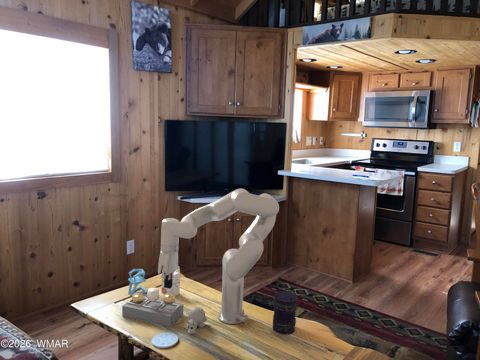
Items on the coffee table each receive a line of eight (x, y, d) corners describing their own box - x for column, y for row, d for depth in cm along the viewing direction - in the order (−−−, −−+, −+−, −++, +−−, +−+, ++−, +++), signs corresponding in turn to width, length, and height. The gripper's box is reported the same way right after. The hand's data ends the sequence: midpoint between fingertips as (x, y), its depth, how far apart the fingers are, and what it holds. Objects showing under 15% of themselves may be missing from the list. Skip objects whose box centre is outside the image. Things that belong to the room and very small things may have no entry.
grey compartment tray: (183, 314, 171) (183, 302, 170) (170, 327, 159) (170, 315, 158) (137, 304, 178) (137, 293, 177) (122, 316, 167) (122, 304, 166)
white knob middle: (161, 297, 169) (161, 288, 168) (155, 301, 164) (155, 293, 164) (151, 295, 171) (151, 286, 170) (145, 299, 166) (145, 291, 165)
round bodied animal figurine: (182, 337, 157) (178, 323, 153) (195, 315, 166) (191, 301, 162) (197, 341, 154) (194, 327, 150) (209, 318, 164) (206, 304, 160)
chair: (125, 292, 191) (125, 269, 189) (140, 287, 196) (140, 265, 194) (132, 297, 185) (132, 274, 183) (148, 292, 190) (148, 270, 189)
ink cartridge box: (160, 292, 191) (161, 265, 189) (167, 289, 195) (168, 262, 193) (173, 297, 187) (174, 269, 185) (180, 293, 191) (180, 266, 189)
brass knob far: (145, 300, 172) (145, 294, 171) (139, 304, 167) (139, 298, 167) (136, 298, 173) (136, 292, 173) (129, 302, 169) (129, 296, 168)
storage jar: (267, 327, 163) (269, 294, 161) (283, 320, 169) (285, 289, 167) (284, 337, 155) (286, 303, 153) (300, 330, 161) (302, 297, 159)
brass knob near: (176, 300, 167) (177, 294, 166) (171, 305, 162) (171, 298, 161) (166, 298, 168) (167, 292, 168) (161, 303, 163) (161, 296, 163)
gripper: (170, 241, 170) (168, 279, 172) (152, 250, 155) (151, 292, 158) (185, 243, 167) (183, 282, 170) (168, 253, 153) (167, 296, 156)
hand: (168, 287), depth 164 cm, fingers closed
